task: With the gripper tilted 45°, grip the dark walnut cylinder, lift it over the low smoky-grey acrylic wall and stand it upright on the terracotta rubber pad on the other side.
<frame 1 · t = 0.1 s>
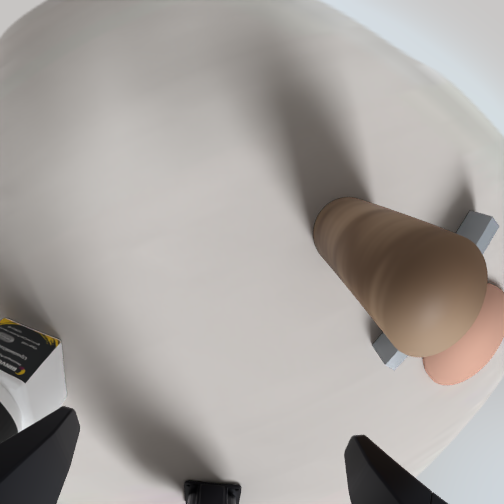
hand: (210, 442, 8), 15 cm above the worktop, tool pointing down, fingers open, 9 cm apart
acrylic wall: (429, 282, 23), on the worktop
resting pad: (468, 335, 25), on the worktop
medicine bottle: (36, 356, 24), on the worktop
walnut cylinder: (347, 232, 22), on the worktop
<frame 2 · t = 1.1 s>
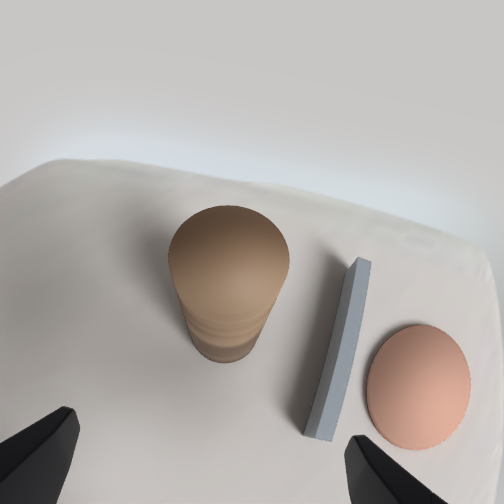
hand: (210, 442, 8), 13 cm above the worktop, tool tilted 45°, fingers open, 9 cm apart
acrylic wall: (334, 351, 24), on the worktop
resting pad: (422, 387, 22), on the worktop
walnut cylinder: (224, 330, 24), on the worktop
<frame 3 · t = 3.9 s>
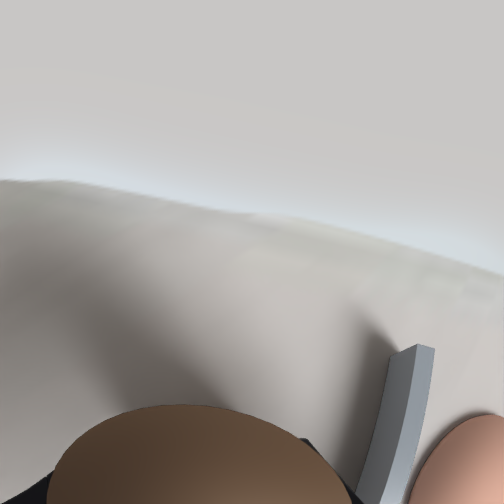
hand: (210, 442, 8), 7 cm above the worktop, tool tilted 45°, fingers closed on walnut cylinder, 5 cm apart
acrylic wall: (371, 472, 13), on the worktop
resting pad: (471, 490, 12), on the worktop
walnut cylinder: (212, 456, 13), on the worktop, touching gripper
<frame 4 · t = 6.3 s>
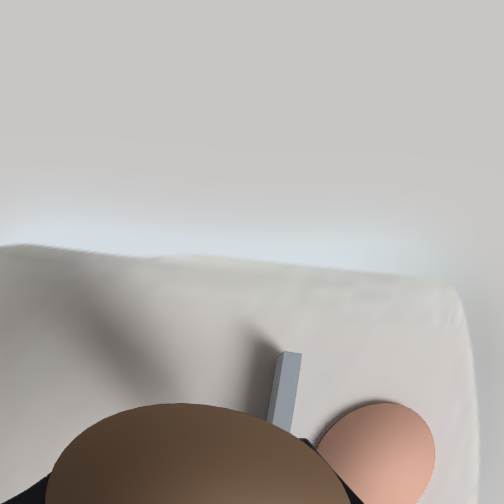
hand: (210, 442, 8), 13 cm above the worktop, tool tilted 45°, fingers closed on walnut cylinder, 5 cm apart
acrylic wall: (269, 449, 20), on the worktop
resting pad: (376, 468, 19), on the worktop
walnut cylinder: (211, 456, 13), point 7 cm above the worktop, touching gripper
when the fingers open (8 cm above the worktop, at t = 9.2 s): walnut cylinder stays where it is, resting on resting pad.
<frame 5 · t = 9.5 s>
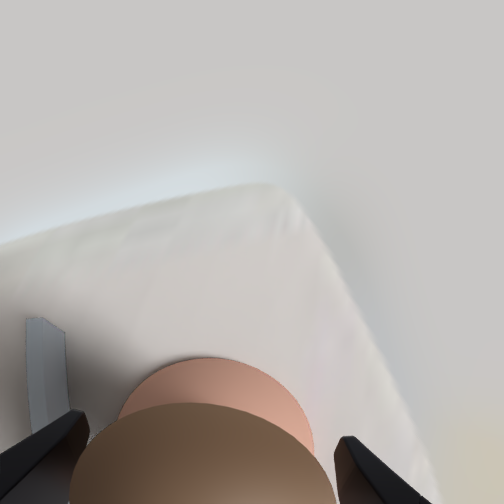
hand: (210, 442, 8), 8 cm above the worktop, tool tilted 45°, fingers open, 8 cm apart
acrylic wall: (66, 442, 14), on the worktop
resting pad: (212, 453, 15), on the worktop
walnut cylinder: (212, 454, 14), point 1 cm above the worktop, touching resting pad
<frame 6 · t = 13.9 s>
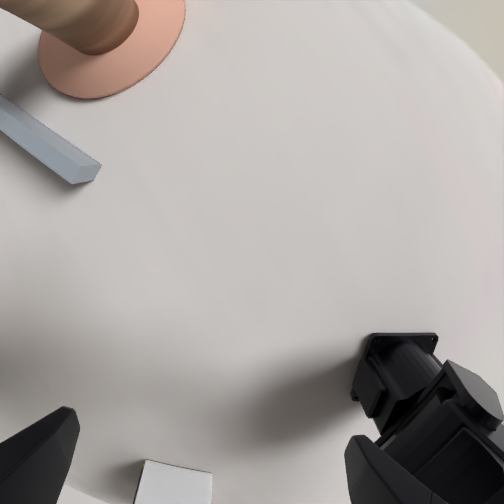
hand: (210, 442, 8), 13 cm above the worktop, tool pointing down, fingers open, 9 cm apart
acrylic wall: (31, 126, 17), on the worktop
resting pad: (107, 25, 16), on the worktop
medicine bottle: (176, 480, 27), on the worktop
walnut cylinder: (104, 23, 15), point 1 cm above the worktop, touching resting pad
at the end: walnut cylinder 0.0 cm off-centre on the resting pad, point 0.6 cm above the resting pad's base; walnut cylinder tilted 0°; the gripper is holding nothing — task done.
